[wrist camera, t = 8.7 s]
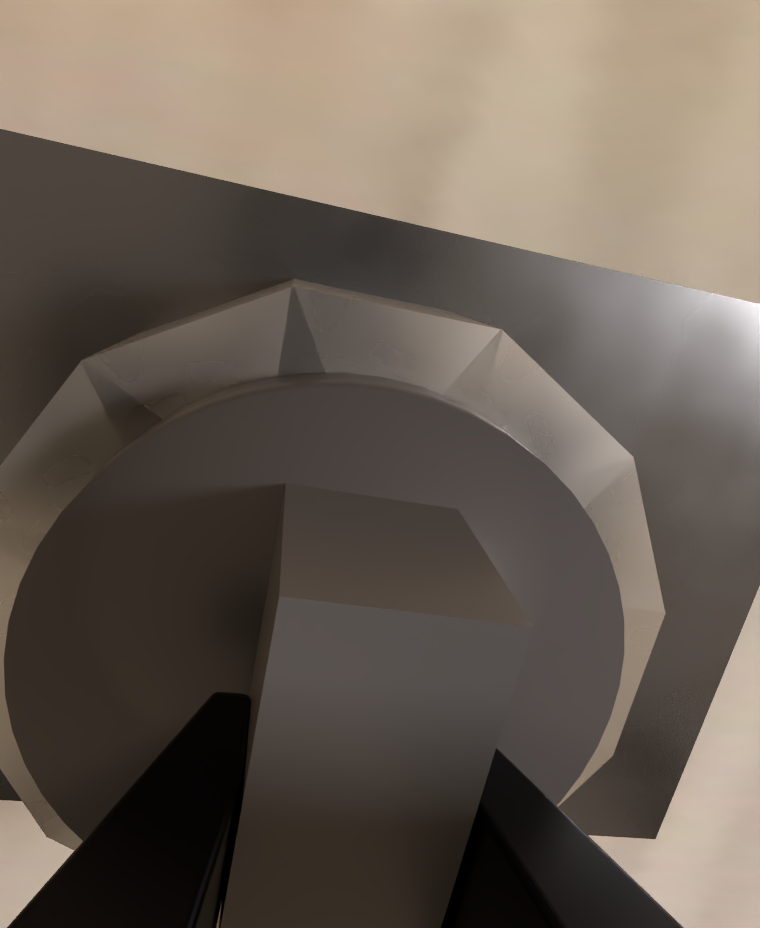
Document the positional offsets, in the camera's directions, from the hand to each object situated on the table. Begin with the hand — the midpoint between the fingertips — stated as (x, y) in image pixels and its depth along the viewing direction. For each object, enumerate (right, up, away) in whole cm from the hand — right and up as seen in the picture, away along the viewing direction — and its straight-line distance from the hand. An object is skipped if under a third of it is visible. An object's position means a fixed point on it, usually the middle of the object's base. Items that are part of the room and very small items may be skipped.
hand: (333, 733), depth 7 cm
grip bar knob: (0, +1, +4) cm, 4 cm away
